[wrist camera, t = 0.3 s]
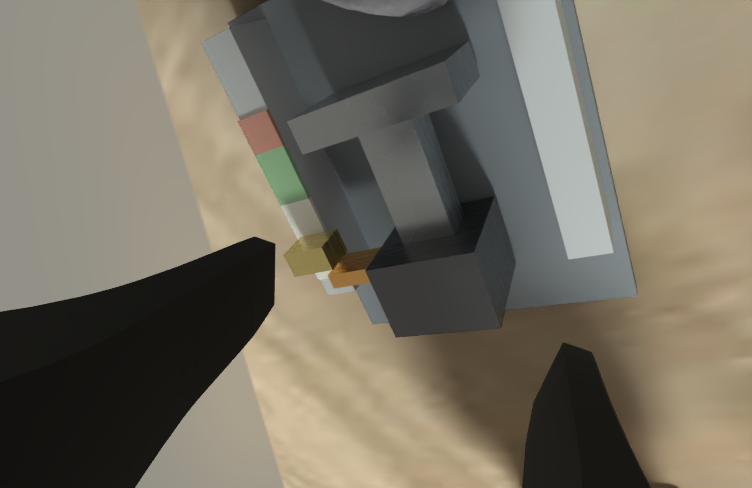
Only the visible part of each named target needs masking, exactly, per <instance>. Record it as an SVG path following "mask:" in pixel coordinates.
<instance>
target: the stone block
mask: <svg viewBox="0 0 752 488" xmlns="http://www.w3.org/2000/svg"><path fill="white" fill-rule="evenodd" d="M322 1H325V2H328V3H331V4H333V5H336V6H339V7H342V8H345V9H348V10H356V11H360V12H364V13H368V14H375V15H383V16H394V17H402V16H410V17H416V16H419V15H425V16H426V15H428V14H430V13H432V12H434V11H436V10H437V9H439V8H441V7H442V6H444V5H445V4H446V2H447V1H448V0H322Z"/></svg>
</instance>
